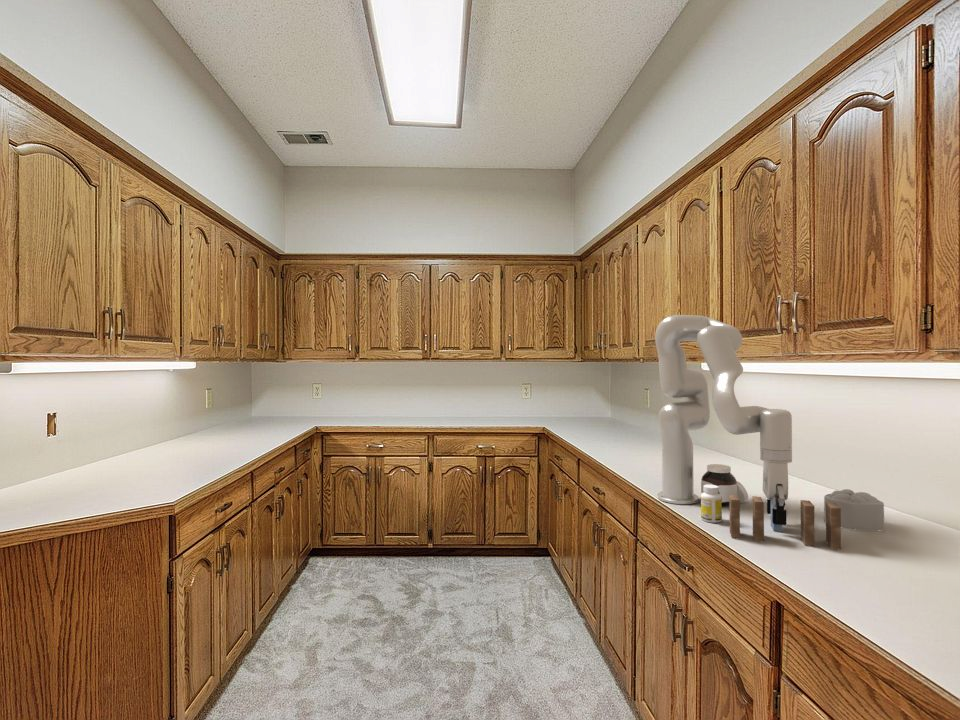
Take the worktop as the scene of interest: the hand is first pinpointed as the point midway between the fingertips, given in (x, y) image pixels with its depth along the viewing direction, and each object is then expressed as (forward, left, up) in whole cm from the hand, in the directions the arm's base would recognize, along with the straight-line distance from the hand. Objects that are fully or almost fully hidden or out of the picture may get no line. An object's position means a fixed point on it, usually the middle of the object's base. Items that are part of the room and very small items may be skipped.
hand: (776, 518), depth 140 cm
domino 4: (+9, +11, -3) cm, 14 cm away
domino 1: (+9, -11, -3) cm, 15 cm away
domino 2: (+9, -6, -3) cm, 11 cm away
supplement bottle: (-2, -16, -3) cm, 16 cm away
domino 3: (+9, +5, -3) cm, 11 cm away
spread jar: (-22, -11, -3) cm, 25 cm away
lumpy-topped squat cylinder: (-11, +20, -3) cm, 23 cm away
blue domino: (0, 0, -3) cm, 3 cm away
